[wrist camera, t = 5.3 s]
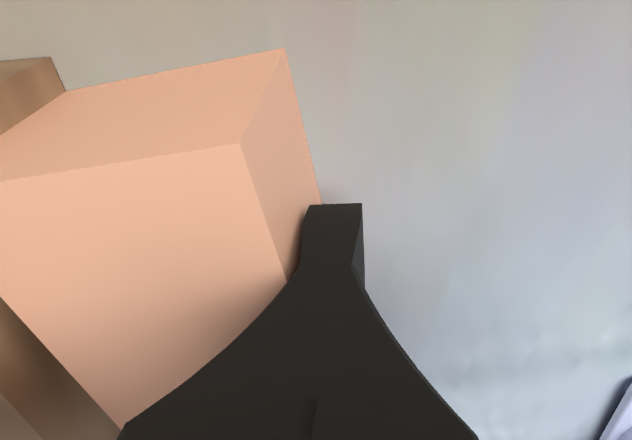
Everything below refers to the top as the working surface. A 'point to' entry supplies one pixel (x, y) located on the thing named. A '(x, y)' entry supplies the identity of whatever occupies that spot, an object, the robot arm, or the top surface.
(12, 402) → the plank
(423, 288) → the top surface
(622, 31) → the top surface
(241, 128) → the block
